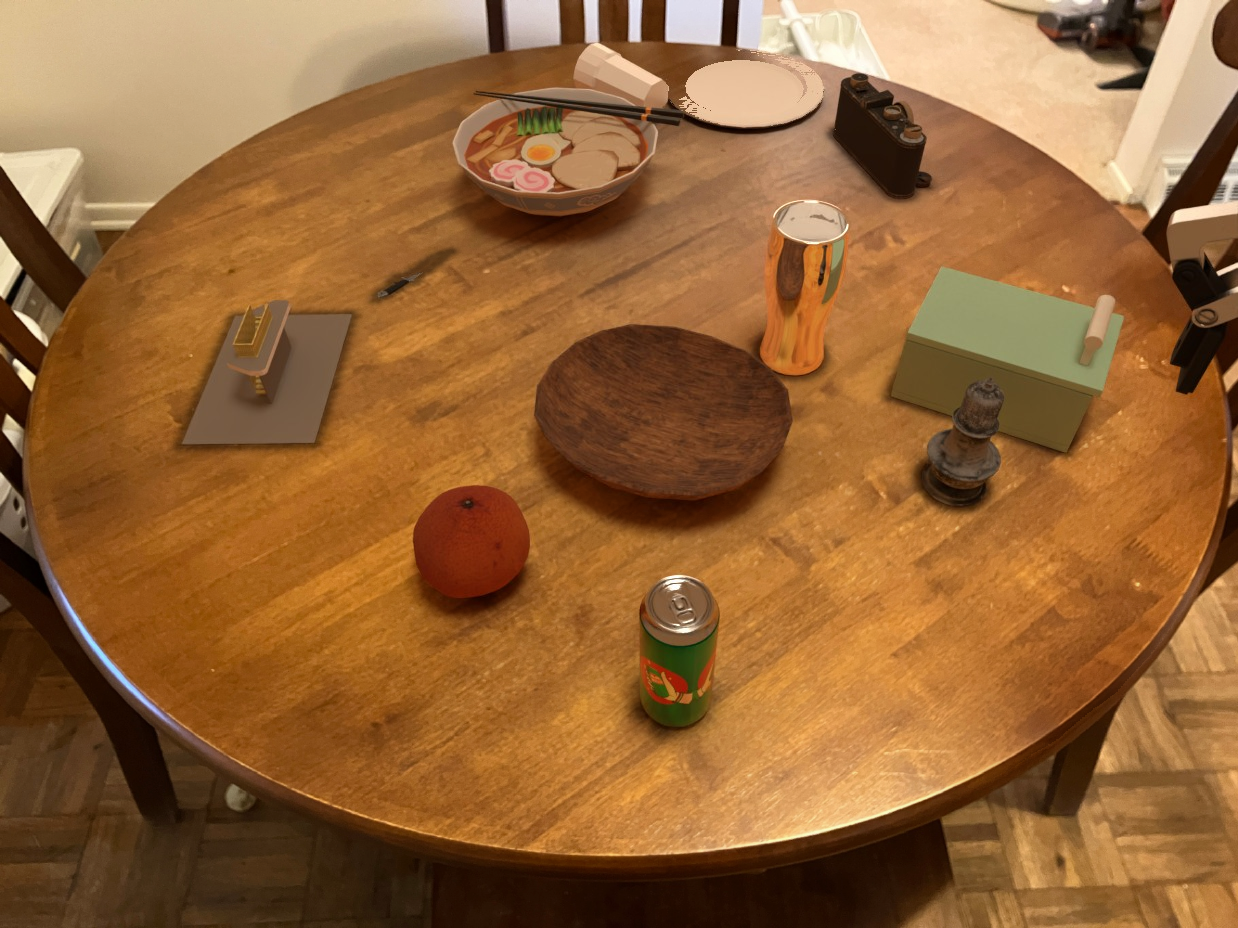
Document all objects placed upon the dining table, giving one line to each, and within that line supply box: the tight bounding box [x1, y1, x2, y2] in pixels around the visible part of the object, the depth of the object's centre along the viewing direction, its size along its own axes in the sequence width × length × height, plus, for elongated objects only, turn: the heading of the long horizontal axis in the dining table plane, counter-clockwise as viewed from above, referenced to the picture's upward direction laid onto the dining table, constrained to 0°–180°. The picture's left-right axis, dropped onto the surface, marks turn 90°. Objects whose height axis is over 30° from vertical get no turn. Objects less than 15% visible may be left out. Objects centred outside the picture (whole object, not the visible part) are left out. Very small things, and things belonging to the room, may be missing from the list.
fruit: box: [412, 484, 531, 599], centre depth 74 cm, size 9×9×8 cm
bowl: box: [533, 323, 794, 501], centre depth 84 cm, size 20×22×5 cm
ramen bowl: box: [451, 87, 685, 217], centre depth 109 cm, size 25×23×8 cm
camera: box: [832, 72, 933, 199], centre depth 113 cm, size 16×7×8 cm, turn 18°
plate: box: [668, 49, 826, 130], centre depth 127 cm, size 21×21×2 cm
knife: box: [377, 272, 423, 299], centre depth 103 cm, size 10×2×1 cm, turn 135°
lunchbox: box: [890, 338, 1094, 453], centre depth 87 cm, size 16×11×7 cm
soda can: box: [638, 574, 721, 728], centre depth 64 cm, size 5×5×12 cm
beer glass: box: [759, 199, 852, 376], centre depth 87 cm, size 7×7×15 cm
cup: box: [572, 42, 669, 116], centre depth 123 cm, size 7×7×11 cm
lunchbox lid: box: [905, 265, 1125, 398], centre depth 83 cm, size 16×11×4 cm, turn 62°
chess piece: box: [921, 378, 1004, 508], centre depth 77 cm, size 6×6×12 cm
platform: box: [181, 299, 353, 445], centre depth 90 cm, size 12×18×7 cm, turn 0°
